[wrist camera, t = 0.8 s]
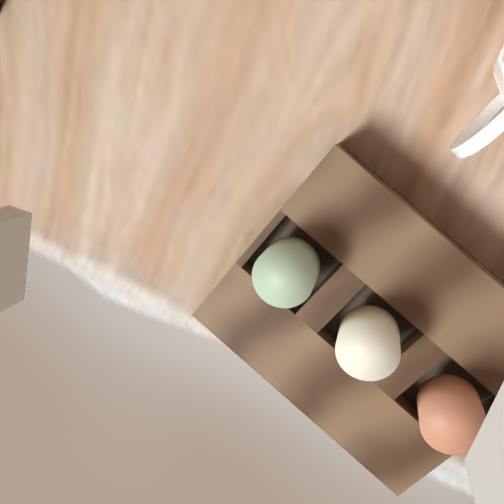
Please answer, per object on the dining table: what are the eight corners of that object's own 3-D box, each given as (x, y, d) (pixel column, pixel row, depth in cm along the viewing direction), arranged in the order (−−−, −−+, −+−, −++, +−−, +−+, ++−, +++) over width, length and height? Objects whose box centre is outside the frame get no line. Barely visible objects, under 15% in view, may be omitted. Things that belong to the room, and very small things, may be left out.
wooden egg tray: (206, 301, 39) (192, 315, 36) (339, 142, 33) (335, 144, 30) (396, 468, 38) (397, 496, 35) (566, 336, 32) (584, 356, 30)
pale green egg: (251, 266, 34) (239, 279, 31) (287, 224, 33) (278, 234, 30) (294, 304, 34) (286, 320, 31) (332, 263, 32) (327, 277, 30)
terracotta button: (404, 399, 34) (405, 424, 31) (447, 363, 32) (453, 385, 29) (448, 438, 33) (454, 466, 31) (493, 403, 32) (504, 430, 29)
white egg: (327, 332, 34) (321, 351, 31) (366, 293, 32) (364, 309, 30) (371, 370, 34) (369, 393, 31) (412, 333, 32) (415, 353, 29)
